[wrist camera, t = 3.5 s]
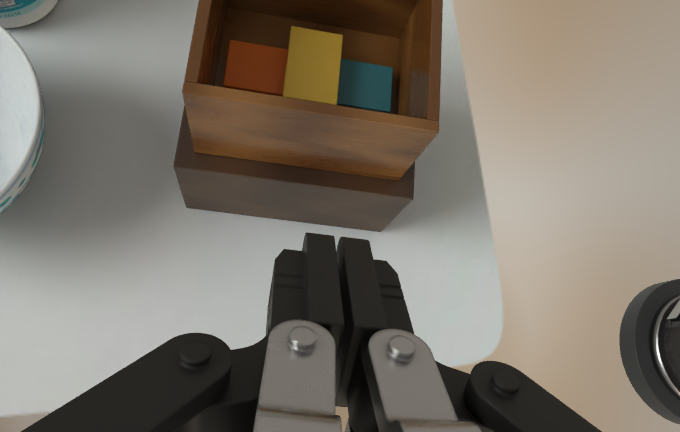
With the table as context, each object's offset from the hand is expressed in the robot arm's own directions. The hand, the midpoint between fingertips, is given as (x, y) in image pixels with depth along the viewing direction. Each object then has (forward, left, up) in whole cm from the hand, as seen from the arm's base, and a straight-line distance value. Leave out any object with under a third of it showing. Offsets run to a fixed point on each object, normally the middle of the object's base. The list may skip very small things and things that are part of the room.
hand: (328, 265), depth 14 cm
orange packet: (+3, -14, -15) cm, 21 cm away
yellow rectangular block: (0, -14, -14) cm, 20 cm away
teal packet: (-3, -14, -15) cm, 21 cm away
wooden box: (0, -14, -16) cm, 21 cm away
